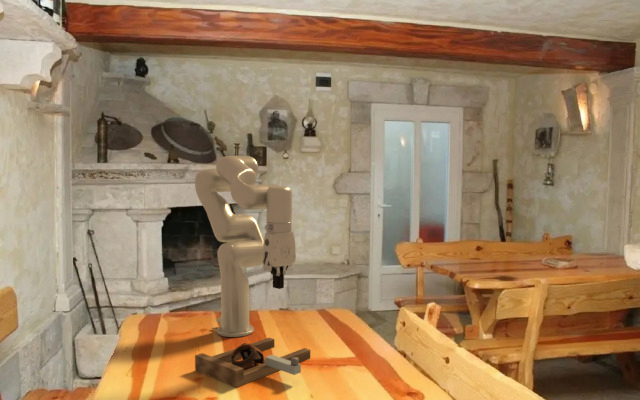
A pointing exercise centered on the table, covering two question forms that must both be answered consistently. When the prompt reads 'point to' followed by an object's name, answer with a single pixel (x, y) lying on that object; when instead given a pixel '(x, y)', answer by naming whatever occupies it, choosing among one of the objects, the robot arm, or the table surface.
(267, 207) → the robot arm
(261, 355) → the pottery mug
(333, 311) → the table surface
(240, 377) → the frame
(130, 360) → the table surface
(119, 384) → the table surface
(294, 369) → the gray rectangular bar
